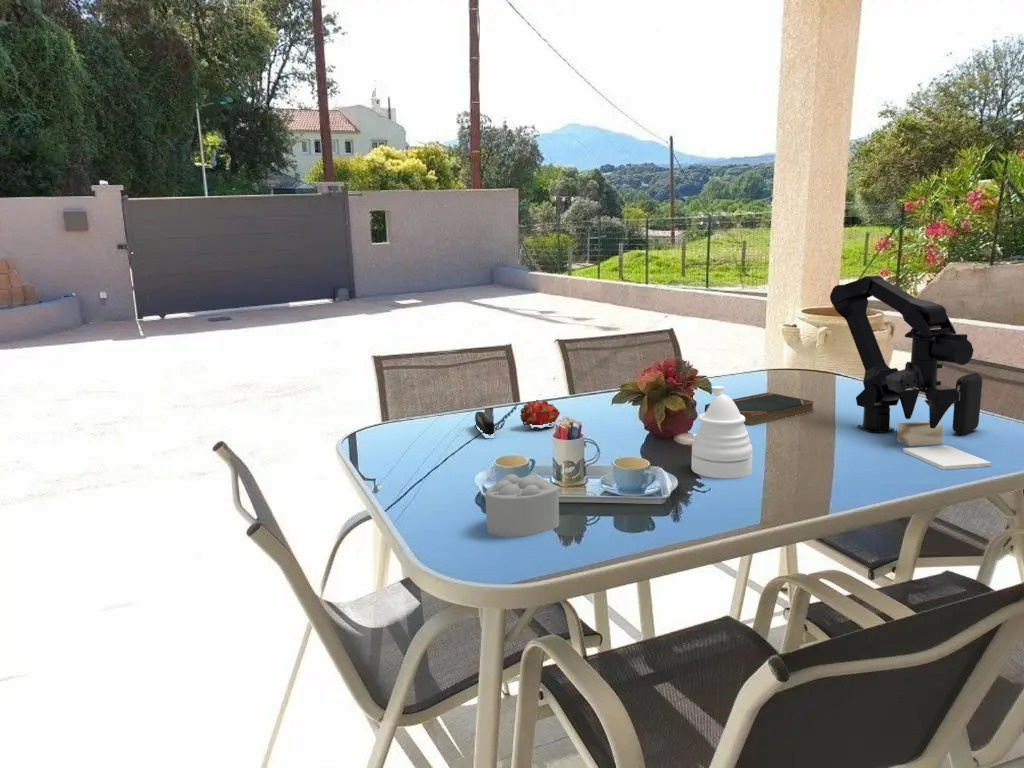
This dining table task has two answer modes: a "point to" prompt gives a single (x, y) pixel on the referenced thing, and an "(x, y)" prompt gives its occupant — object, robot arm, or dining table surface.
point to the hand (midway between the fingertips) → (919, 423)
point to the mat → (946, 457)
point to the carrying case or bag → (967, 403)
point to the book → (770, 407)
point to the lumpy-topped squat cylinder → (522, 506)
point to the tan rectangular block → (919, 433)
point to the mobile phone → (484, 423)
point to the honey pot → (722, 441)
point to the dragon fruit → (539, 413)
